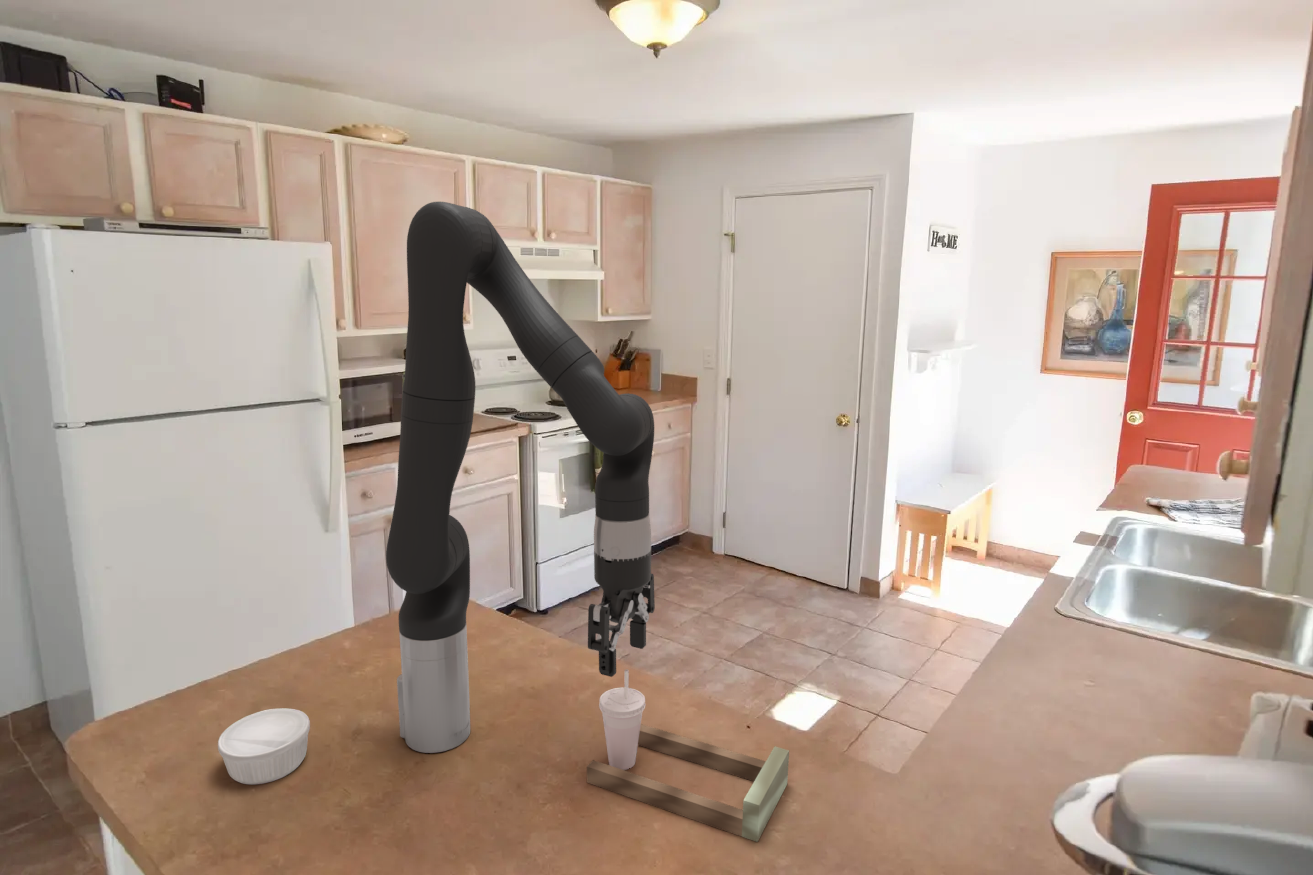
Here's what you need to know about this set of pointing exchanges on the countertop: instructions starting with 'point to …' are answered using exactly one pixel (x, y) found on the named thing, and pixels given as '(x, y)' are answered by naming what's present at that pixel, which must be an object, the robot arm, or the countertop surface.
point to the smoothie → (622, 723)
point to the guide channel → (744, 822)
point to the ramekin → (265, 745)
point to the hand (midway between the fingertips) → (623, 660)
